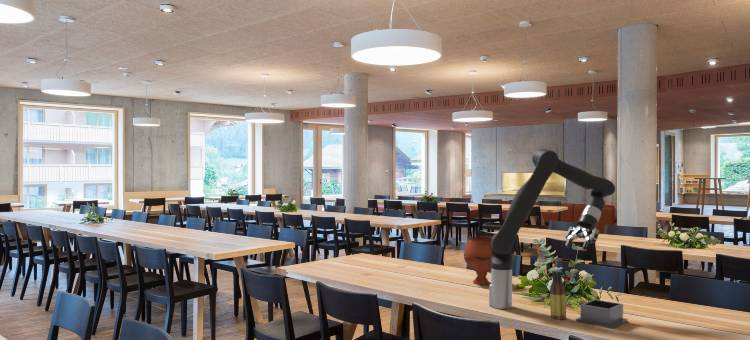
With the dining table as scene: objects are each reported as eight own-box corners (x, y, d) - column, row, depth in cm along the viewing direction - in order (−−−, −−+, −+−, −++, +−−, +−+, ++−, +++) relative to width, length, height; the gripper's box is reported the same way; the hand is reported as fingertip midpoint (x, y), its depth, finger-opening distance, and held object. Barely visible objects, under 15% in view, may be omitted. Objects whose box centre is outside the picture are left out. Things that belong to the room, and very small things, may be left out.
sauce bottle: (562, 316, 234) (563, 269, 234) (568, 320, 228) (568, 271, 228) (547, 316, 234) (547, 269, 234) (552, 320, 228) (553, 271, 228)
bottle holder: (575, 321, 226) (575, 304, 226) (591, 314, 237) (591, 298, 237) (613, 328, 216) (613, 310, 216) (627, 321, 226) (627, 304, 226)
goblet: (497, 279, 311) (497, 235, 311) (501, 287, 292) (501, 239, 292) (462, 279, 313) (462, 235, 313) (464, 286, 294) (464, 239, 294)
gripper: (571, 212, 249) (557, 242, 243) (599, 213, 238) (585, 244, 231) (579, 222, 252) (566, 251, 246) (608, 224, 241) (594, 255, 235)
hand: (575, 248), depth 239 cm, fingers open, 8 cm apart
